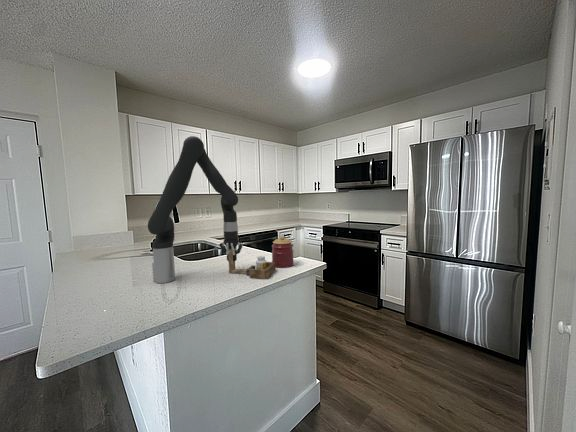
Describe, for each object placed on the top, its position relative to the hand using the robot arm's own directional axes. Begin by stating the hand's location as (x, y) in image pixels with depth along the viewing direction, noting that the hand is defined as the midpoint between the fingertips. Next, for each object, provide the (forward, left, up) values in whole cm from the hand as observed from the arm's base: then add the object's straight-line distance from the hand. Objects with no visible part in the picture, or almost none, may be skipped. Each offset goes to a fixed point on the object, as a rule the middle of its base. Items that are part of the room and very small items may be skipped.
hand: (231, 261), depth 135 cm
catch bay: (+18, 0, -6) cm, 19 cm away
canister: (+24, +18, -7) cm, 31 cm away
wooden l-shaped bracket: (+5, 0, -6) cm, 8 cm away
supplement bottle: (+17, 0, -7) cm, 18 cm away
